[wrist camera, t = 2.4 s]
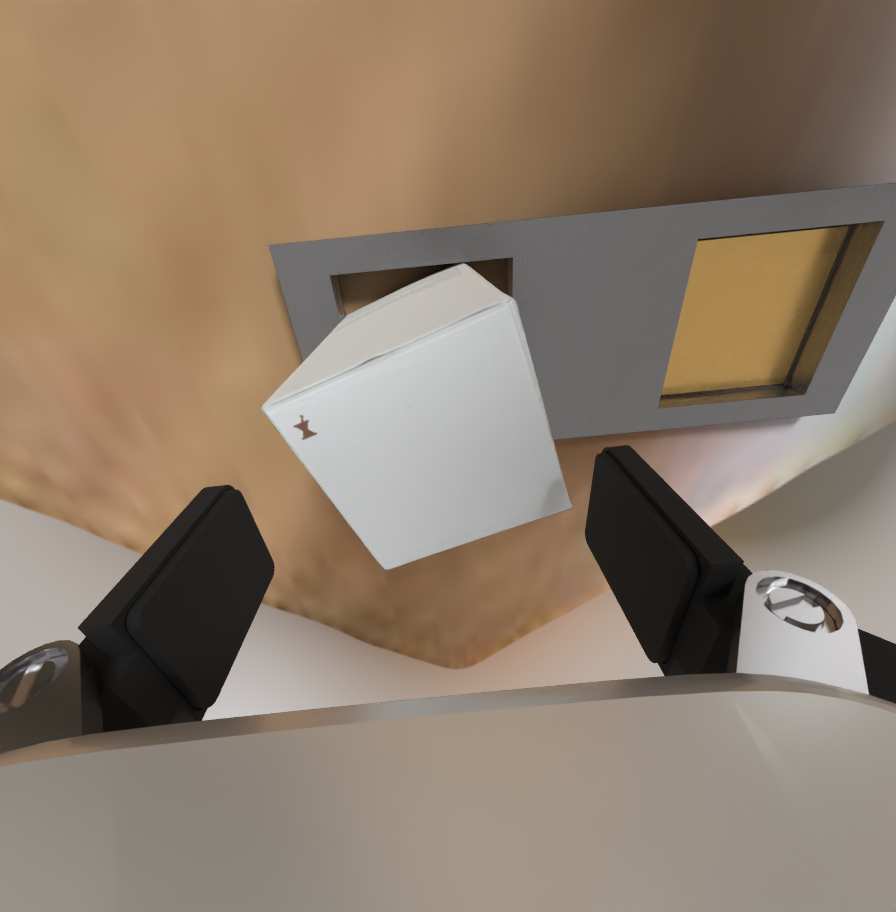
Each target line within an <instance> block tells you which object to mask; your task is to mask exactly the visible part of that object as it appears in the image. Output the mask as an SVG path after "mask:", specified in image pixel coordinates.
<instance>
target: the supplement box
mask: <svg viewBox="0 0 896 912" xmlns="http://www.w3.org/2000/svg"><path fill="white" fill-rule="evenodd" d="M262 412H263V413H264V414H265V415H266V417H267V418H268V419H269V420H270V422H271V423H272V424H273V425H274V427H275V428H276V429H277V430H278V432H279V433H280V434H281V435H282V437H283V438H284V440H285V441H286V442H287V444H288V445H289V446H290V448H291V449H292V450H293V451H294V453H295V454H296V455H297V457H298V458H299V459H300V461H301V462H302V463H303V465H304V466H305V467H306V469H307V470H308V471H309V473H310V474H311V475H312V476H313V478H314V479H315V480H316V482H317V483H318V484H319V486H320V487H321V488H322V490H323V491H324V492H325V494H326V495H327V496H328V498H329V499H330V500H331V501H332V503H333V504H334V505H335V507H336V508H337V509H338V511H339V512H340V513H341V515H342V516H343V517H344V518H345V520H346V521H347V522H348V524H349V525H350V526H351V528H352V529H353V530H354V531H355V533H356V534H357V535H358V537H359V538H360V539H361V541H362V542H363V543H364V545H365V546H366V547H367V548H368V550H369V551H370V553H371V554H372V555H373V556H374V558H375V559H376V560H377V561H378V563H379V564H380V565H381V566H382V567H383V568H384V569H386V570H389V569H392V568H395V567H398V566H401V565H404V564H407V563H409V562H412V561H415V560H418V559H421V558H424V557H427V556H429V555H432V554H435V553H438V552H441V551H444V550H448V549H451V548H454V547H457V546H460V545H463V544H466V543H469V542H472V541H474V540H477V539H480V538H483V537H486V536H489V535H492V534H495V533H498V532H501V531H504V530H507V529H510V528H513V527H516V526H519V525H522V524H525V523H528V522H531V521H534V520H538V519H541V518H544V517H546V516H549V515H553V514H556V513H559V512H562V511H565V510H568V509H570V508H571V507H572V505H571V502H570V499H569V496H568V492H567V489H566V485H565V481H564V477H563V474H562V470H561V467H560V463H559V460H558V456H557V452H556V449H555V445H554V441H553V437H552V434H551V430H550V426H549V422H548V419H547V415H546V411H545V407H544V404H543V400H542V396H541V392H540V388H539V385H538V381H537V377H536V373H535V370H534V366H533V362H532V359H531V355H530V351H529V348H528V344H527V340H526V337H525V333H524V329H523V326H522V322H521V318H520V315H519V311H518V307H517V303H516V301H515V300H514V299H513V298H512V297H510V296H508V295H506V294H505V293H503V292H501V291H500V290H499V289H497V288H496V287H495V286H493V285H492V284H491V283H489V282H488V281H487V280H486V279H484V278H483V277H482V276H481V275H480V274H478V273H477V272H476V271H475V270H473V269H472V268H471V267H469V266H468V265H466V264H465V263H463V262H460V263H456V264H454V265H451V266H449V267H447V268H445V269H442V270H440V271H438V272H436V273H434V274H431V275H429V276H427V277H425V278H423V279H421V280H418V281H416V282H414V283H412V284H410V285H408V286H405V287H403V288H401V289H399V290H397V291H395V292H393V293H391V294H389V295H387V296H385V297H383V298H381V299H379V300H377V301H375V302H372V303H370V304H368V305H366V306H364V307H362V308H360V309H358V310H356V311H354V312H352V313H350V314H348V315H346V317H345V318H344V319H343V320H342V321H341V322H340V323H339V324H338V325H337V326H336V328H335V329H334V330H333V331H332V332H331V333H330V334H329V335H328V336H327V337H326V338H325V339H324V340H323V341H322V343H321V344H320V345H319V346H318V347H317V348H316V349H315V350H314V351H313V352H312V353H311V354H310V355H309V356H308V357H307V358H306V359H305V361H304V362H303V363H302V364H301V365H300V366H299V367H298V368H297V369H296V370H295V371H294V372H293V373H292V374H291V376H290V377H289V378H288V379H287V380H286V381H285V382H284V383H283V384H282V385H281V386H280V387H279V388H278V389H277V390H276V391H275V393H274V394H273V395H272V396H271V397H270V398H269V399H268V400H267V401H266V402H265V403H264V405H263V406H262Z"/></svg>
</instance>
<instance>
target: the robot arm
mask: <svg viewBox="0 0 896 912" xmlns="http://www.w3.org/2000/svg"><path fill="white" fill-rule="evenodd" d="M585 537H586V541H587V544H588V546H589V548H590V550H591V552H592V554H593V555H594V557H595V559H596V561H597V563H598V565H599V567H600V569H601V571H602V572H603V574H604V576H605V578H606V580H607V582H608V584H609V586H610V588H611V589H612V591H613V593H614V595H615V597H616V599H617V601H618V603H619V604H620V606H621V608H622V610H623V612H624V614H625V616H626V618H627V620H628V621H629V623H630V625H631V627H632V629H633V631H634V633H635V635H636V637H637V638H638V640H639V642H640V644H641V646H642V648H643V650H644V652H645V653H646V655H647V657H648V659H649V660H650V661H651V662H653V663H658V665H659V666H660V668H661V670H662V672H663V674H664V676H663V677H650V678H638V679H623V680H611V681H599V682H588V683H579V684H568V685H557V686H546V687H535V688H524V689H514V690H503V691H493V692H482V693H471V694H461V695H452V696H441V697H431V698H421V699H411V700H400V701H390V702H380V703H370V704H361V705H351V706H340V707H331V708H320V709H310V710H301V711H291V712H282V713H272V714H263V715H253V716H244V717H234V718H225V719H216V720H207V721H202V719H203V717H204V714H205V712H206V710H207V708H208V707H210V706H212V705H213V704H214V703H215V701H216V699H217V698H218V696H219V694H220V691H221V688H222V687H223V685H224V683H225V680H226V678H227V676H228V674H229V672H230V669H231V667H232V665H233V663H234V661H235V658H236V656H237V654H238V652H239V650H240V648H241V645H242V643H243V641H244V639H245V637H246V634H247V632H248V630H249V628H250V626H251V623H252V621H253V619H254V617H255V615H256V613H257V610H258V608H259V606H260V604H261V602H262V599H263V597H264V595H265V593H266V591H267V588H268V586H269V584H270V582H271V580H272V578H273V575H274V562H273V560H272V557H271V555H270V553H269V551H268V549H267V547H266V545H265V542H264V540H263V538H262V536H261V534H260V532H259V529H258V527H257V525H256V523H255V521H254V519H253V516H252V514H251V512H250V510H249V508H248V506H247V504H246V501H245V499H244V497H243V495H242V493H241V492H240V491H239V490H235V489H234V488H233V487H232V486H230V485H223V486H213V487H206V488H204V489H202V490H201V491H200V492H199V493H198V495H197V496H196V497H195V498H194V499H193V500H192V501H191V502H190V503H189V505H188V506H187V507H186V508H185V509H184V510H183V511H182V512H181V513H180V515H179V516H178V517H177V518H176V519H175V520H174V521H173V522H172V523H171V525H170V526H169V527H168V528H167V529H166V530H165V531H164V532H163V533H162V535H161V536H160V537H159V538H158V539H157V540H156V541H155V542H154V543H153V545H152V546H151V547H150V548H149V549H148V550H147V551H146V552H145V553H144V555H143V556H142V557H141V558H140V559H139V560H138V561H137V562H136V563H135V565H134V566H133V567H132V568H131V569H130V570H129V571H128V572H127V573H126V575H125V576H124V577H123V578H122V579H121V580H120V581H119V582H118V583H117V585H116V586H115V587H114V588H113V589H112V590H111V591H110V592H109V593H108V594H107V596H106V597H105V598H104V599H103V600H102V601H101V602H100V603H99V605H98V606H97V607H96V608H95V609H94V610H93V611H92V612H91V614H89V616H88V617H87V618H86V619H85V620H84V621H83V622H82V623H81V624H80V626H79V627H78V629H79V630H80V631H81V632H82V633H83V634H84V635H85V636H86V637H85V639H84V640H83V641H82V642H81V643H80V645H78V644H77V643H75V642H73V641H70V640H59V641H55V642H51V643H48V644H44V645H42V646H40V647H37V648H35V649H33V650H31V651H28V652H27V653H25V654H23V655H22V656H20V657H18V658H16V659H15V660H13V661H12V662H10V663H9V664H7V665H6V666H5V667H4V668H2V669H1V670H0V912H896V644H894V643H892V642H889V641H887V640H884V639H882V638H880V637H877V636H875V635H872V634H870V633H867V632H865V631H862V630H860V629H858V628H857V623H856V621H855V619H854V616H853V614H852V612H851V611H850V610H849V609H848V608H847V606H846V605H845V604H844V603H843V602H842V601H841V600H840V599H839V598H837V597H836V596H835V595H833V594H832V593H831V592H830V591H828V590H827V589H825V588H823V587H822V586H820V585H818V584H816V583H815V582H813V581H810V580H808V579H805V578H803V577H800V576H798V575H795V574H791V573H787V572H782V571H773V570H765V571H759V572H755V573H754V574H753V573H751V572H750V570H749V569H748V568H747V567H746V566H745V565H744V564H743V562H744V561H743V560H742V559H741V558H740V557H739V556H738V555H737V554H736V553H735V552H734V551H733V550H732V549H731V548H730V547H729V546H728V545H727V544H726V543H725V542H724V541H723V540H722V539H721V538H720V537H719V536H718V535H717V534H716V533H715V532H714V531H713V530H712V529H711V528H710V527H709V526H708V525H707V523H706V522H705V521H704V520H703V519H702V518H701V517H700V516H699V515H698V514H697V513H696V512H695V511H694V510H693V509H692V508H691V507H690V506H689V505H688V504H687V503H686V502H685V501H684V500H683V499H682V498H681V497H680V496H679V495H678V494H677V493H676V492H675V491H674V490H673V489H672V488H671V487H670V486H669V485H668V484H667V483H666V482H665V481H664V480H663V479H662V478H661V477H660V476H659V475H658V474H657V473H656V472H655V471H654V470H653V469H652V468H651V467H650V466H649V465H648V464H647V463H646V462H645V461H644V460H643V459H642V458H641V457H640V456H639V455H638V454H637V453H636V452H635V451H634V450H633V449H632V448H631V447H630V446H628V445H625V446H615V447H606V448H604V449H603V451H602V453H600V454H597V456H596V459H595V465H594V472H593V479H592V486H591V493H590V500H589V508H588V515H587V522H586V529H585Z"/></svg>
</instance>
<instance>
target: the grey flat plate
mask: <svg viewBox="0 0 896 912" xmlns="http://www.w3.org/2000/svg"><path fill="white" fill-rule="evenodd" d="M845 224H851V226H850V228H849V226H844V227H834V228H824V229H813V230H803V231H793V232H783V233H773V234H763V235H753V236H742V237H732V238H722V239H712V240H702V241H698V239H704V238H714V237H724V236H734V235H744V234H754V233H764V232H775V231H785V230H795V229H805V228H815V227H825V226H835V225H845ZM848 228H849V231H848ZM847 231H848V233H847ZM846 233H847V235H846ZM845 236H846V238H845ZM844 238H845V240H844ZM843 240H844V243H843ZM842 243H843V245H842ZM841 245H842V247H841ZM840 248H841V250H840ZM269 249H270V252H271V256H272V259H273V262H274V266H275V269H276V272H277V276H278V279H279V282H280V286H281V289H282V292H283V296H284V299H285V303H286V306H287V309H288V313H289V316H290V319H291V323H292V326H293V329H294V333H295V336H296V339H297V343H298V346H299V350H300V353H301V356H302V360H303V362H304V361H305V359H306V358H307V357H308V356H309V355H310V354H311V353H312V352H313V351H314V350H315V349H316V348H317V347H318V346H319V345H320V344H321V343H322V341H323V340H324V339H325V338H326V337H327V336H328V335H329V334H330V333H331V332H332V331H333V330H334V329H335V328H336V326H337V325H338V324H339V323H340V322H341V321H342V320H343V319H344V318H345V317H346V312H345V308H344V303H343V299H342V294H341V290H340V285H339V281H338V276H337V275H339V274H349V273H359V272H369V271H379V270H389V269H400V268H410V267H420V266H430V265H440V264H450V263H460V262H471V261H481V260H491V259H501V258H507V295H508V296H510V297H512V298H513V299H514V300H515V301H516V303H517V307H518V311H519V315H520V318H521V322H522V326H523V329H524V333H525V337H526V340H527V344H528V348H529V351H530V355H531V359H532V362H533V366H534V370H535V373H536V377H537V381H538V385H539V388H540V392H541V396H542V400H543V404H544V407H545V411H546V415H547V419H548V422H549V426H550V430H551V434H552V437H553V440H555V439H566V438H577V437H587V436H598V435H609V434H619V433H630V432H640V431H651V430H662V429H672V428H683V427H694V426H704V425H715V424H726V423H736V422H747V421H757V420H768V419H779V418H789V417H800V416H811V415H821V414H832V413H835V411H836V409H837V407H838V406H839V404H840V402H841V400H842V398H843V396H844V394H845V392H846V390H847V388H848V386H849V384H850V382H851V380H852V379H853V377H854V375H855V373H856V371H857V369H858V367H859V365H860V363H861V361H862V359H863V357H864V355H865V354H866V352H867V350H868V348H869V346H870V344H871V342H872V340H873V338H874V336H875V334H876V332H877V330H878V328H879V327H880V325H881V323H882V321H883V319H884V317H885V315H886V313H887V311H888V309H889V307H890V305H891V303H892V302H893V300H894V298H895V296H896V183H888V184H878V185H868V186H858V187H848V188H838V189H828V190H818V191H808V192H798V193H788V194H778V195H768V196H758V197H748V198H737V199H727V200H717V201H707V202H697V203H687V204H677V205H667V206H657V207H647V208H637V209H627V210H617V211H607V212H597V213H587V214H577V215H567V216H557V217H547V218H537V219H527V220H517V221H507V222H497V223H486V224H476V225H466V226H456V227H446V228H436V229H426V230H416V231H406V232H396V233H386V234H376V235H366V236H356V237H346V238H336V239H326V240H316V241H306V242H296V243H286V244H276V245H269ZM839 250H840V252H839ZM838 252H839V254H838ZM837 255H838V257H837ZM836 257H837V259H836ZM835 260H836V262H835ZM834 262H835V264H834ZM833 264H834V266H833ZM832 267H833V269H832ZM831 269H832V271H831ZM830 271H831V273H830ZM829 274H830V276H829ZM828 276H829V278H828ZM827 279H828V281H827ZM826 281H827V283H826ZM825 283H826V285H825ZM824 286H825V288H824ZM823 288H824V290H823ZM822 291H823V293H822ZM821 293H822V295H821ZM820 295H821V297H820ZM819 298H820V300H819ZM818 300H819V302H818ZM817 302H818V304H817ZM816 305H817V307H816ZM815 307H816V309H815ZM814 310H815V312H814ZM813 312H814V314H813ZM812 314H813V316H812ZM811 317H812V319H811ZM810 319H811V321H810ZM809 322H810V324H809ZM808 324H809V326H808ZM807 326H808V328H807ZM806 329H807V331H806ZM805 331H806V333H805ZM804 334H805V335H804ZM803 336H804V338H803ZM802 338H803V340H802ZM801 341H802V343H801ZM800 343H801V345H800ZM799 345H800V347H799ZM798 348H799V350H798ZM797 350H798V352H797ZM796 353H797V354H796ZM795 355H796V357H795ZM794 357H795V359H794ZM793 360H794V362H793ZM792 362H793V364H792ZM791 365H792V366H791ZM790 367H791V369H790ZM789 369H790V371H789ZM788 372H789V374H788ZM787 374H788V376H787ZM786 377H787V378H786ZM785 379H786V381H785ZM784 381H785V383H784ZM774 384H784V385H783V386H772V387H762V388H751V389H741V390H730V391H720V392H709V393H699V394H688V395H677V396H667V397H661V395H669V394H680V393H690V392H701V391H711V390H722V389H732V388H743V387H753V386H764V385H774Z"/></svg>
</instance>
